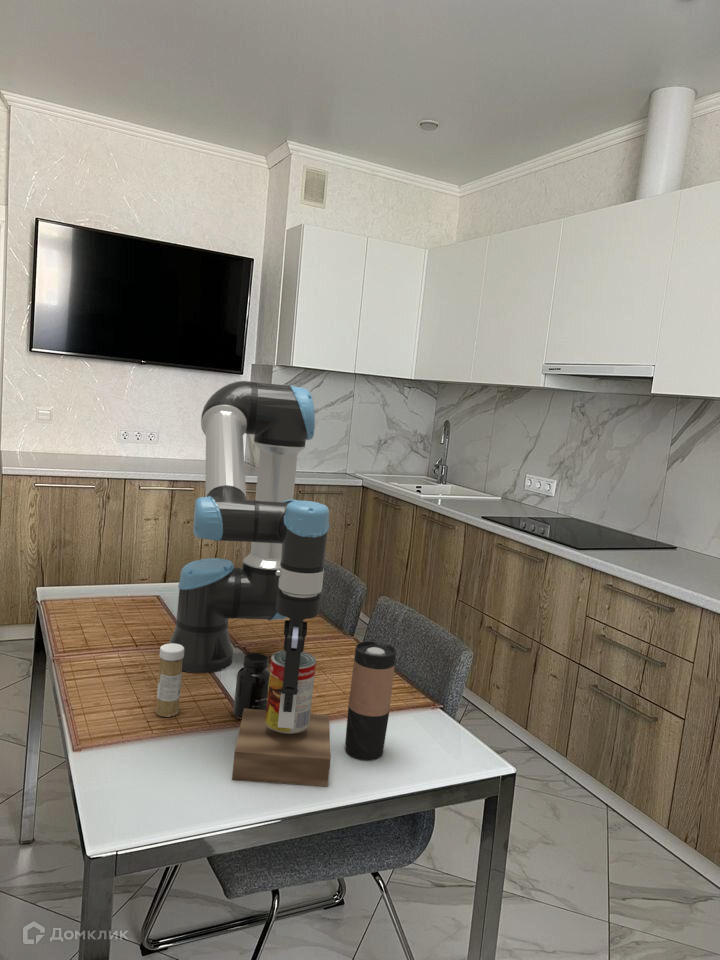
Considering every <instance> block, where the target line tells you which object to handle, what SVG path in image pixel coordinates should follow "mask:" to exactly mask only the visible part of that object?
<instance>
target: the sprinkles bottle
mask: <svg viewBox="0 0 720 960" xmlns="http://www.w3.org/2000/svg"><path fill="white" fill-rule="evenodd" d="M183 657H184V647H183V646H182V645H180V644H175V643H170V644H169V643H165V644H163V645H161V646H160V648H159V668H158V682H157V689H156V690H157V691H156V707H155V711H154V712H155V713H156V715H157V716H159V717H164V718H171V716H172V717H175V716H178V714H179V712H180V705H179V704H180V698H181V690H182V689H181V688H182V677H183V671H182V662H183Z"/></svg>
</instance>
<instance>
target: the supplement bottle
mask: <svg viewBox="0 0 720 960" xmlns="http://www.w3.org/2000/svg"><path fill="white" fill-rule="evenodd" d="M242 666H243V667H241V668H240V669H239V670H238V672H237V675H236V683H235V691H234V692H235V693H234V700H233V711H232V712H233V715H234V714H235V715H234V716H235V717H236V716H237V717H239V718H241V719H242V715H243V710H244V709H257V710H266V706H267V696H268V686H269V676H270V669H268V668H269V656H268V655H266V654H264V653H258V652H250V653H246V654H245V655H244V657H243V662H242ZM237 717H236V718H237ZM241 719H240V720H241Z"/></svg>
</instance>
